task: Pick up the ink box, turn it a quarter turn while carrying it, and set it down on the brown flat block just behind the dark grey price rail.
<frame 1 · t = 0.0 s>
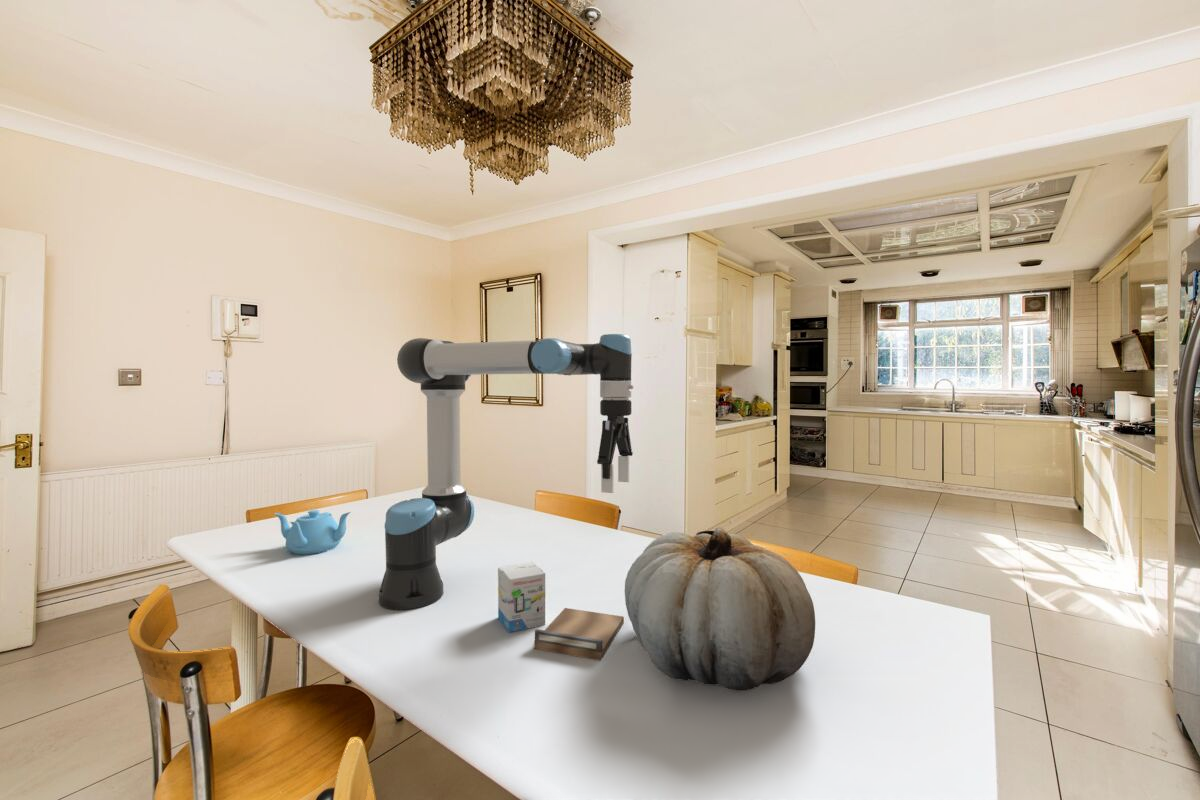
hand: (616, 487, 122), 28 cm above the table, fingers open, 13 cm apart
pumpkin: (711, 655, 99), on the table
brown flat block: (581, 635, 106), on the table
ink box: (521, 622, 113), on the table
teapot: (311, 549, 164), on the table
mug: (716, 567, 146), on the table
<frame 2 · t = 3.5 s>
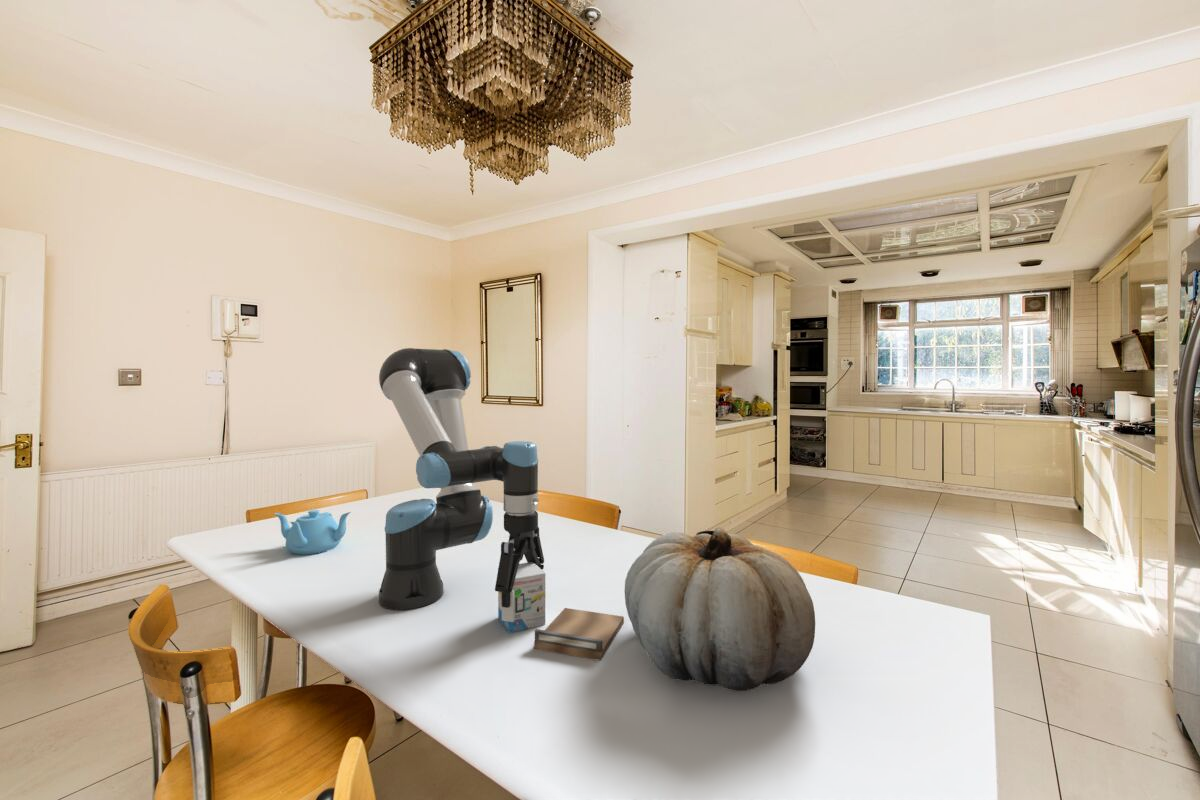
hand: (521, 608, 113), 3 cm above the table, fingers closed on ink box, 11 cm apart
ink box: (521, 621, 113), on the table, touching gripper
everything else where it was.
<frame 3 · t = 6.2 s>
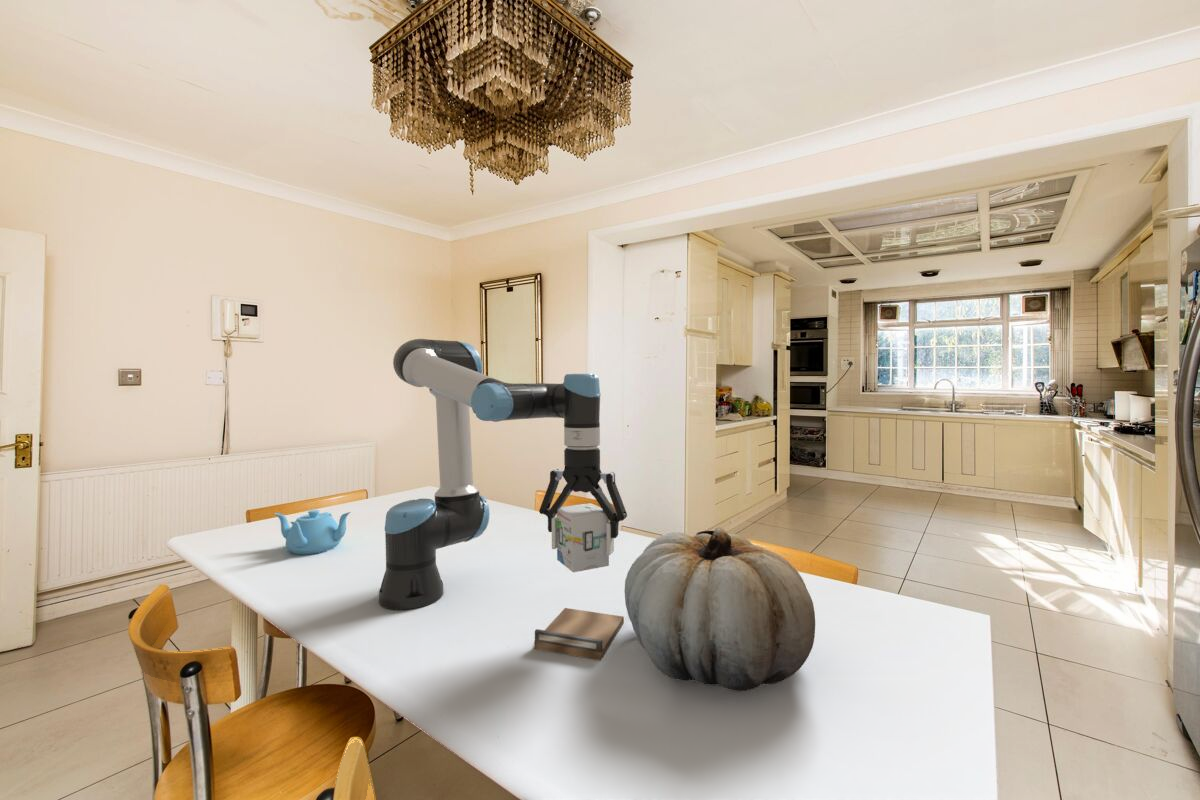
hand: (582, 550, 107), 18 cm above the table, fingers closed on ink box, 11 cm apart
ink box: (582, 564, 107), point 15 cm above the table, touching gripper
everything else where it was.
when the fingers open (5 cm above the table, at t = 9.0 s): ink box stays where it is, resting on brown flat block.
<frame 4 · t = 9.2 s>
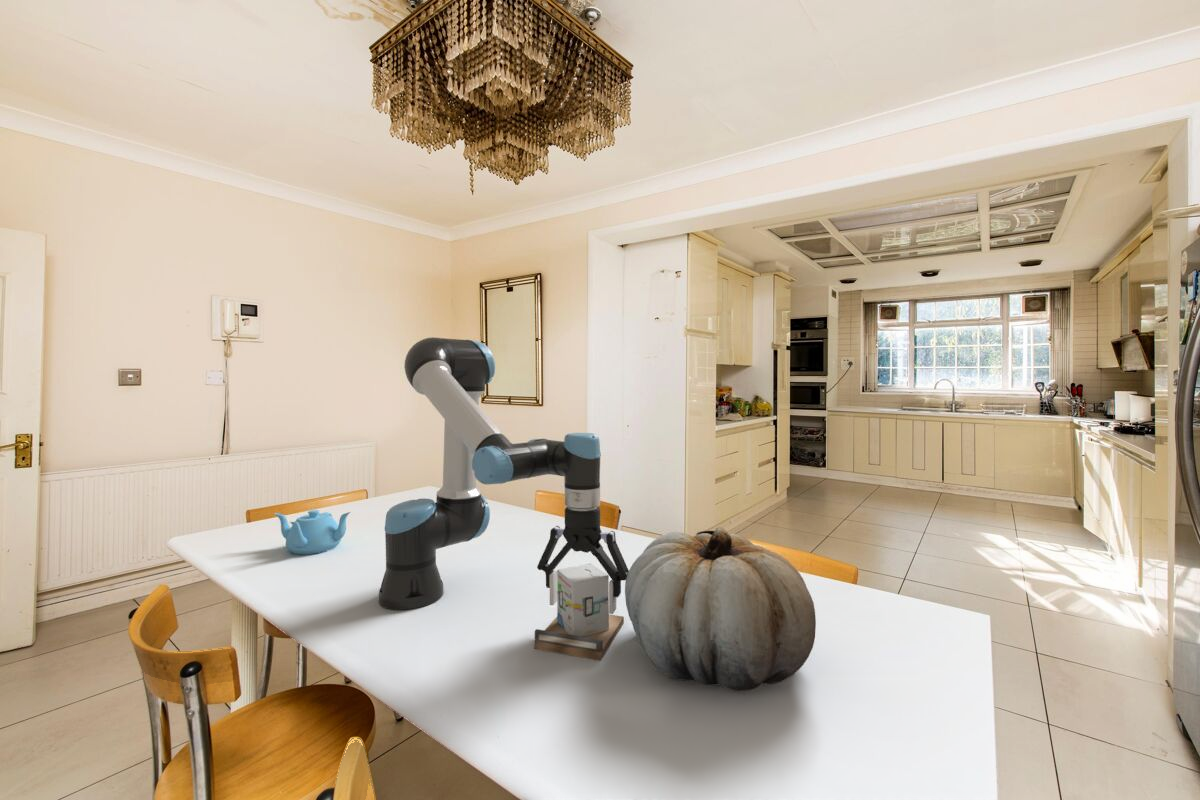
hand: (582, 607, 107), 6 cm above the table, fingers open, 13 cm apart
pumpkin: (712, 655, 99), on the table, touching gripper, hand
ink box: (582, 627, 107), point 1 cm above the table, touching brown flat block
everything else where it was.
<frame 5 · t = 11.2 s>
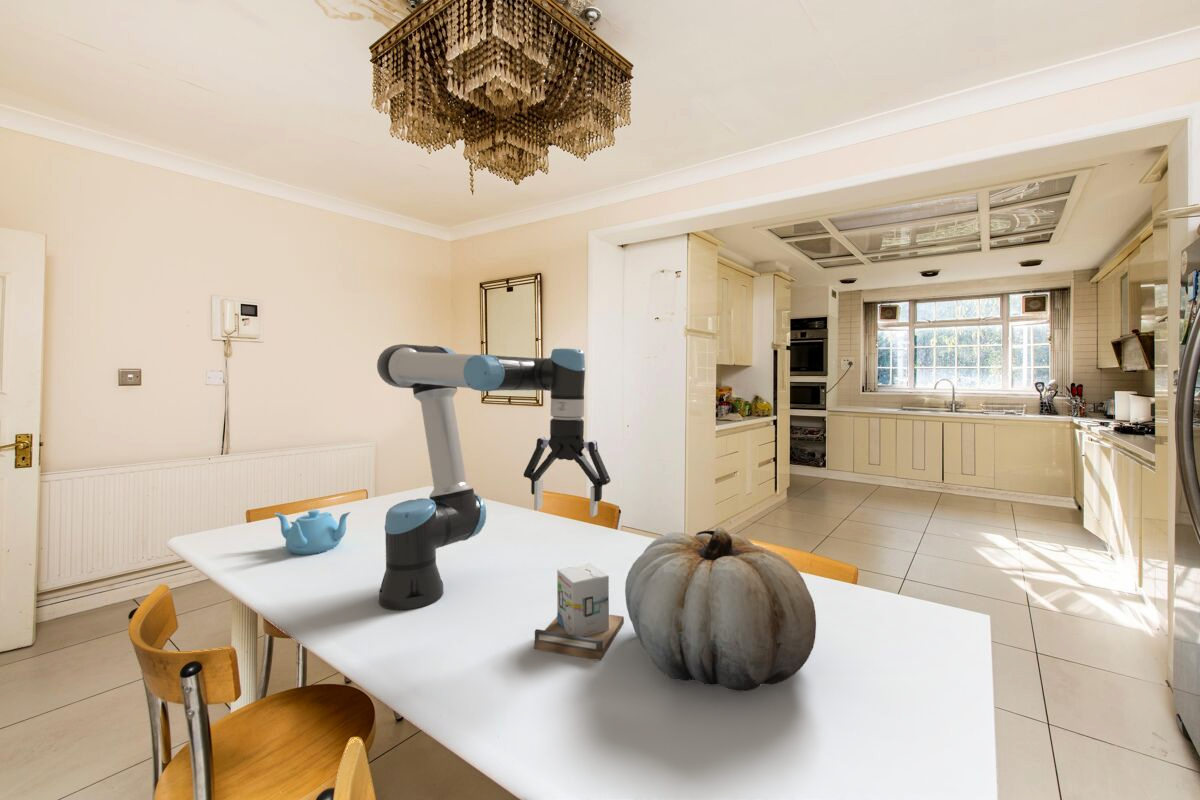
hand: (565, 512, 114), 24 cm above the table, fingers open, 13 cm apart
pumpkin: (712, 655, 99), on the table
everything else where it was.
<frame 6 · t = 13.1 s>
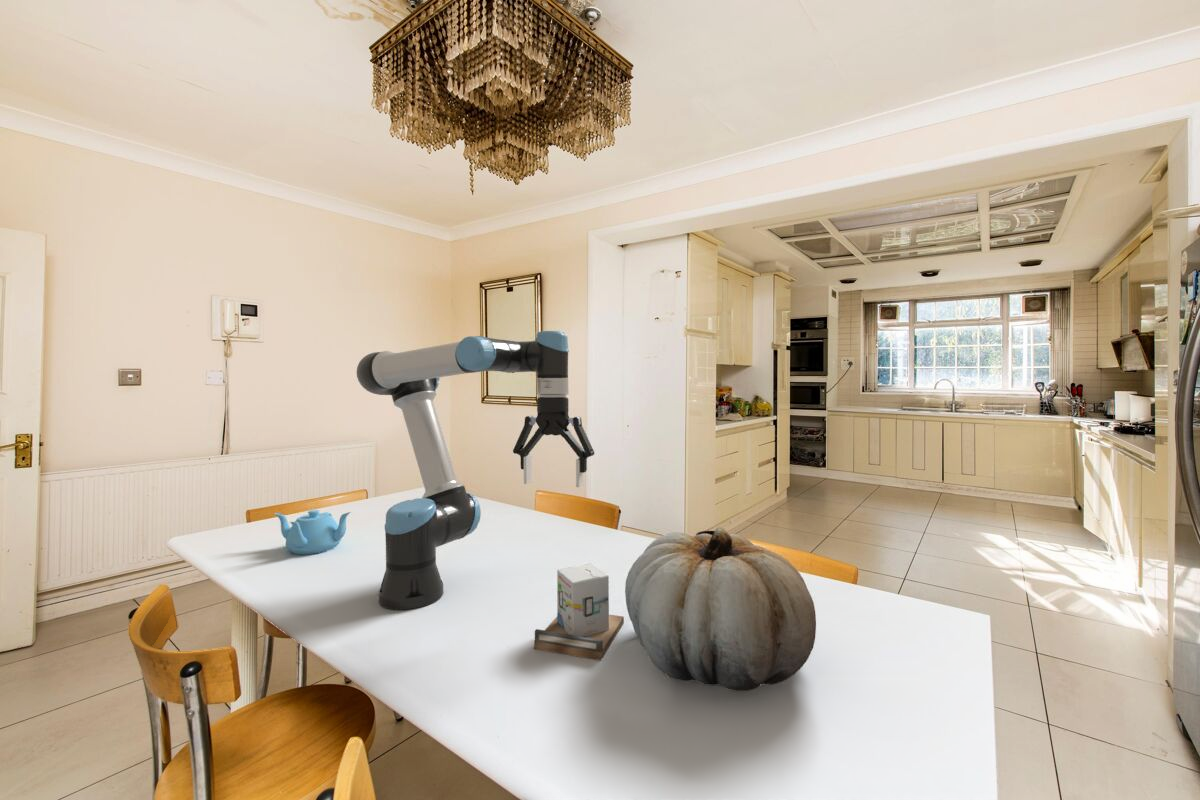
hand: (553, 484, 122), 29 cm above the table, fingers open, 13 cm apart
nothing on the table moved.
at the end: ink box inside the target area on the brown flat block (0.2 cm from its centre), point 1.3 cm above the brown flat block's base; ink box moved 15.0 cm from its start; the gripper is holding nothing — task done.
